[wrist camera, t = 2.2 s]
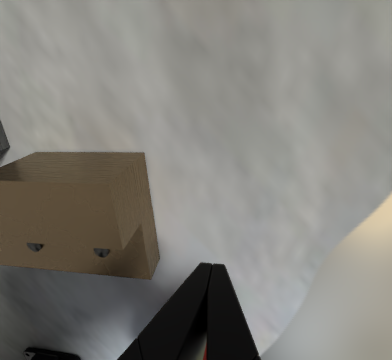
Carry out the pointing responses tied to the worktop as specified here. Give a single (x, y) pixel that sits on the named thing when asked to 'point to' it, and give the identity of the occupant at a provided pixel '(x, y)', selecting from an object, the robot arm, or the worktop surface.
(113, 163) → the wooden block
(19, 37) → the worktop surface
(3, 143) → the leaf fixed
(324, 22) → the worktop surface
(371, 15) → the worktop surface
